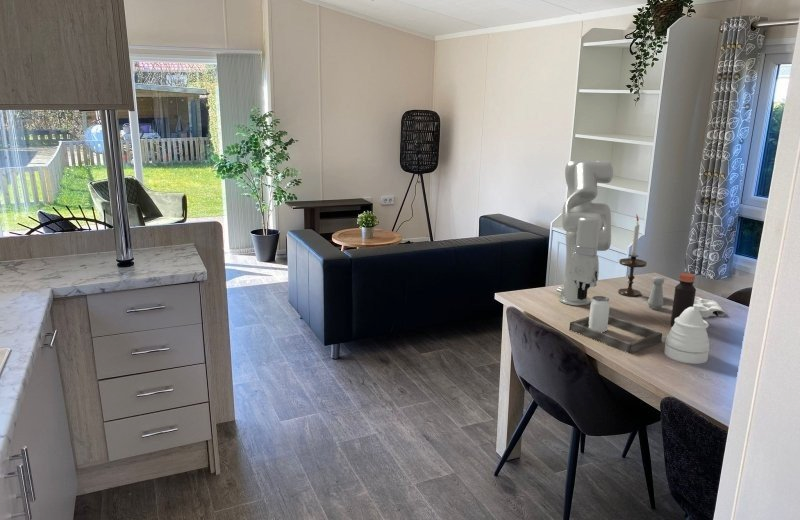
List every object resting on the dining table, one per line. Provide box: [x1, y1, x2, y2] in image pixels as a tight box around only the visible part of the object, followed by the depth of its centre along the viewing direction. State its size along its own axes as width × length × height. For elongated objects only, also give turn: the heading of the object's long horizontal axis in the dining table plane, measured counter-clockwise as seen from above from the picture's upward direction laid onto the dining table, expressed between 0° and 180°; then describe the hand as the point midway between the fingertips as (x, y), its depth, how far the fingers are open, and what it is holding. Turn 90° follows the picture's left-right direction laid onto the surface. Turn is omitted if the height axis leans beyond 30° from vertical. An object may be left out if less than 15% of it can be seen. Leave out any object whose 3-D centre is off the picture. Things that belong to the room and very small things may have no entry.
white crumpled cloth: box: [694, 295, 726, 319], centre depth 234 cm, size 3×18×15 cm
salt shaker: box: [647, 276, 665, 311], centre depth 235 cm, size 6×6×13 cm
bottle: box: [669, 272, 697, 327], centre depth 214 cm, size 7×7×20 cm
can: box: [588, 295, 611, 333], centre depth 212 cm, size 6×6×12 cm
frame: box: [568, 315, 663, 354], centre depth 207 cm, size 25×18×3 cm
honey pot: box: [664, 304, 710, 365], centre depth 190 cm, size 13×13×18 cm
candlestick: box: [618, 213, 647, 298], centre depth 250 cm, size 11×11×35 cm
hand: (581, 298), depth 217 cm, fingers closed
